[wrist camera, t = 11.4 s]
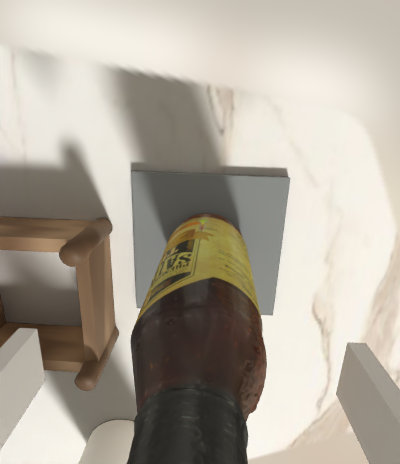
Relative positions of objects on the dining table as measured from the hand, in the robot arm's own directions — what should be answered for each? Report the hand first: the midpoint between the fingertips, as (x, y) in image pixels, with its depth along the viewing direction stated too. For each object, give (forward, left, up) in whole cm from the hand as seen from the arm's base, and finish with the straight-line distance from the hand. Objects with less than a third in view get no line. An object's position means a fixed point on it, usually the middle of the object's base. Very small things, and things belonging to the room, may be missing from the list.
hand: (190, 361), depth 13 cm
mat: (0, 0, -13) cm, 13 cm away
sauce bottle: (0, 0, -13) cm, 13 cm away
